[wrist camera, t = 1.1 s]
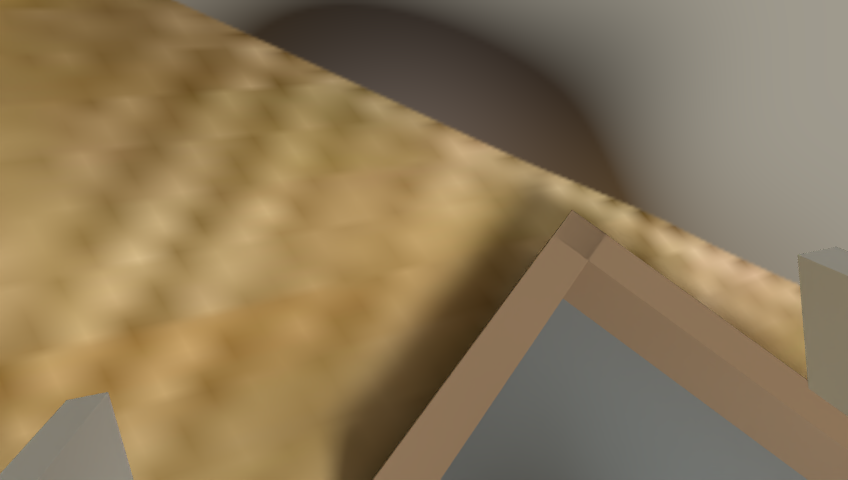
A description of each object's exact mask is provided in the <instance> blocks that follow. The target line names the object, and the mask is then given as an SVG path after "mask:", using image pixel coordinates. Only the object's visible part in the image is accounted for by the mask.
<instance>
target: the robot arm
mask: <svg viewBox="0 0 848 480" xmlns="http://www.w3.org/2000/svg"><path fill="white" fill-rule="evenodd" d="M798 265H799V277H800V290H801V303H802V315H803V327H804V340H805V352H806V365H807V377H808V388H809V389H810V390H811V391H813V392H814V393H816V394H817V395H818V396H820V397H821V398H823V399H824V400H825V401H827V402H828V403H830V404H831V405H832V406H834V407H835V408H837V409H838V410H839V411H841V412H842V413H844V414H845V415H846V416H848V251H846V250H844V249H841V248H838V247H833V248H828V249H823V250H818V251H813V252H809V253H803V254H799V255H798ZM0 480H133V476H132V473H131V469H130V466H129V463H128V459H127V456H126V452H125V449H124V445H123V442H122V438H121V435H120V432H119V428H118V425H117V421H116V418H115V414H114V411H113V408H112V404H111V401H110V397H109V394H108V392H106V393H101V394H96V395H91V396H86V397H81V398H76V399H71V400H66V401H65V403H64V404H63V405H62V406H61V407H60V408H59V409H58V410H57V411H56V413H55V414H54V415H53V416H52V417H51V418H50V419H49V420H48V421H47V423H46V424H45V425H44V426H43V427H42V428H41V429H40V430H39V431H38V433H37V434H36V435H35V436H34V437H33V438H32V439H31V440H30V441H29V442H28V444H27V445H26V446H25V447H24V448H23V449H22V450H21V451H20V452H19V454H18V455H17V456H16V457H15V458H14V459H13V460H12V461H11V462H10V464H9V465H8V466H7V467H6V468H5V469H4V470H3V471H2V472H1V474H0Z"/></svg>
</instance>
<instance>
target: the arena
mask: <svg viewBox="0 0 848 480" xmlns="http://www.w3.org/2000/svg"><path fill="white" fill-rule="evenodd" d="M372 480H848V416H846V415H845V414H844V413H842V412H841V411H839V410H838V409H837V408H835V407H834V406H832V405H831V404H830V403H828V402H827V401H825V400H824V399H823V398H821V397H820V396H818V395H817V394H816V393H814V392H813V391H811V390H810V389H809V388H808V380H807V379H805V378H804V377H802V376H801V375H800V374H798V373H797V372H796V371H794V370H793V369H791V368H790V367H789V366H787V365H786V364H784V363H783V362H782V361H780V360H779V359H778V358H776V357H775V356H773V355H772V354H771V353H769V352H768V351H766V350H765V349H764V348H762V347H761V346H760V345H758V344H757V343H755V342H754V341H753V340H751V339H750V338H749V337H747V336H746V335H744V334H743V333H742V332H740V331H739V330H737V329H736V328H735V327H733V326H732V325H731V324H729V323H728V322H726V321H725V320H724V319H722V318H721V317H720V316H718V315H717V314H715V313H714V312H713V311H711V310H710V309H708V308H707V307H706V306H704V305H703V304H702V303H700V302H699V301H697V300H696V299H695V298H693V297H692V296H691V295H689V294H688V293H686V292H685V291H684V290H682V289H681V288H679V287H678V286H677V285H675V284H674V283H673V282H671V281H670V280H668V279H667V278H666V277H664V276H663V275H661V274H660V273H659V272H657V271H656V270H655V269H653V268H652V267H650V266H649V265H648V264H646V263H645V262H644V261H642V260H641V259H639V258H638V257H637V256H635V255H634V254H632V253H631V252H630V251H628V250H627V249H626V248H624V247H623V246H621V245H620V244H619V243H617V242H616V241H615V240H613V239H612V238H610V237H609V236H608V235H606V234H605V233H603V232H602V231H601V230H599V229H598V228H597V227H595V226H594V225H592V224H591V223H590V222H588V221H587V220H586V219H584V218H583V217H581V216H580V215H579V214H577V213H576V212H574V211H573V210H572V211H571V212H570V214H569V215H568V216H567V218H566V219H565V220H564V221H563V223H562V224H561V225H560V227H559V228H558V229H557V231H556V232H555V233H554V235H553V236H552V237H551V238H550V240H549V241H548V242H547V244H546V245H545V246H544V248H543V249H542V250H541V251H540V253H539V254H538V255H537V257H536V258H535V260H534V261H533V262H532V264H531V265H530V266H529V268H528V269H527V270H526V272H525V273H524V274H523V276H522V277H521V278H520V280H519V281H518V283H517V284H516V285H515V287H514V288H513V289H512V291H511V292H510V293H509V295H508V296H507V297H506V299H505V300H504V301H503V303H502V304H501V306H500V307H499V308H498V310H497V311H496V312H495V314H494V315H493V316H492V318H491V319H490V320H489V322H488V323H487V325H486V326H485V327H484V329H483V330H482V331H481V333H480V334H479V335H478V337H477V338H476V339H475V341H474V342H473V343H472V345H471V346H470V348H469V349H468V350H467V352H466V353H465V354H464V356H463V357H462V358H461V360H460V361H459V362H458V364H457V365H456V366H455V368H454V369H453V371H452V372H451V373H450V375H449V376H448V377H447V379H446V380H445V381H444V383H443V384H442V385H441V387H440V388H439V389H438V391H437V392H436V394H435V395H434V396H433V398H432V399H431V400H430V402H429V403H428V404H427V406H426V407H425V408H424V410H423V411H422V412H421V414H420V415H419V417H418V418H417V419H416V421H415V422H414V423H413V425H412V426H411V427H410V429H409V430H408V431H407V433H406V434H405V435H404V437H403V438H402V440H401V441H400V442H399V444H398V445H397V446H396V448H395V449H394V450H393V452H392V453H391V454H390V456H389V457H388V458H387V460H386V461H385V463H384V464H383V465H382V467H381V468H380V469H379V471H378V472H377V473H376V475H375V476H374V477H373V479H372Z"/></svg>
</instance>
